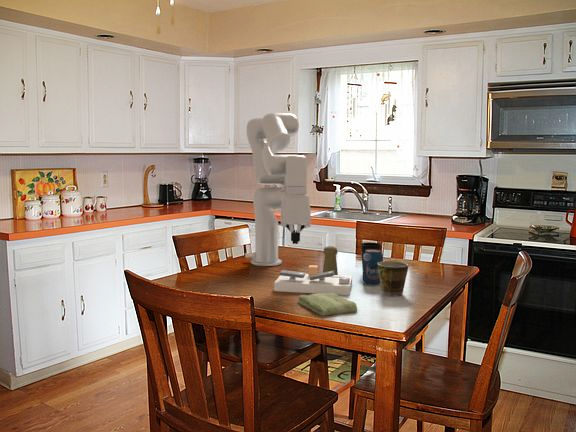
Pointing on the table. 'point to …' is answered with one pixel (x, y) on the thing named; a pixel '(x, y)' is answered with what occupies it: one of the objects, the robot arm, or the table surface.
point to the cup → (369, 246)
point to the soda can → (371, 266)
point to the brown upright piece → (330, 260)
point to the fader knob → (312, 269)
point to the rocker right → (322, 275)
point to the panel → (314, 284)
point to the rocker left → (292, 274)
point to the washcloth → (327, 303)
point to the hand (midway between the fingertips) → (295, 243)
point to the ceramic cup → (392, 277)
